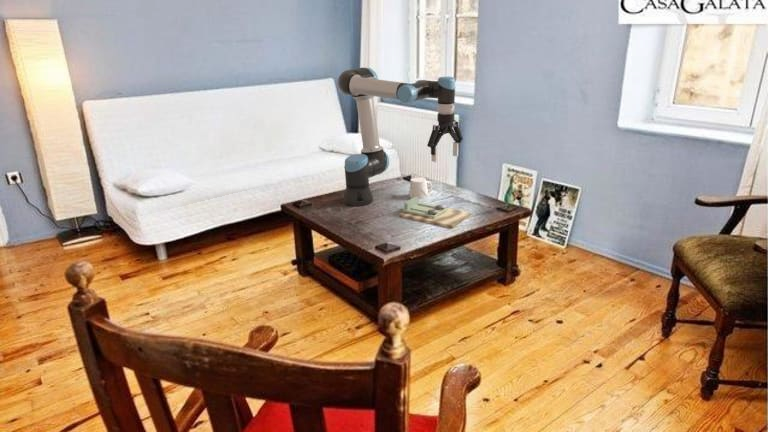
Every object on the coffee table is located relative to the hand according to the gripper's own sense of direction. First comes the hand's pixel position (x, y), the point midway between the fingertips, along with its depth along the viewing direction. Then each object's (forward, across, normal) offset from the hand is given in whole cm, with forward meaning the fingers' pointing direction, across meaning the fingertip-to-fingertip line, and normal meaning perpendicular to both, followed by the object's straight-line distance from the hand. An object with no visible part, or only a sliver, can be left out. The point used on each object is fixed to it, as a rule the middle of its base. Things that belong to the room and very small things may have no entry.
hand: (444, 158), depth 232 cm
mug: (+26, +5, +22) cm, 34 cm away
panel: (+24, -10, +2) cm, 26 cm away
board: (+25, -9, -3) cm, 27 cm away
